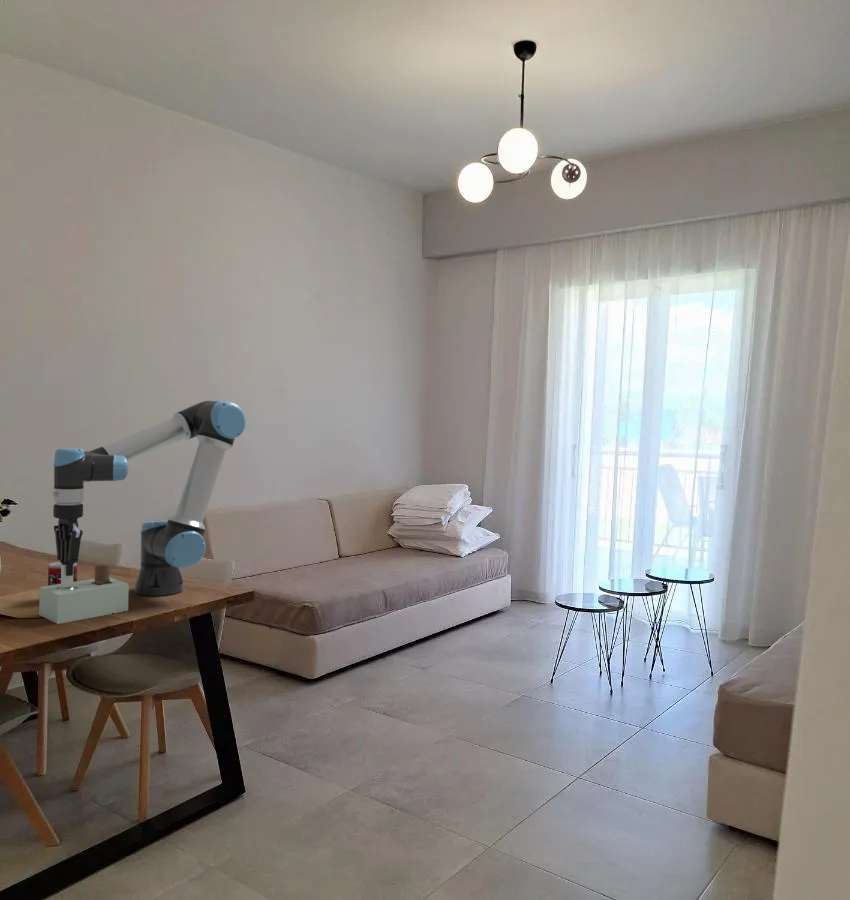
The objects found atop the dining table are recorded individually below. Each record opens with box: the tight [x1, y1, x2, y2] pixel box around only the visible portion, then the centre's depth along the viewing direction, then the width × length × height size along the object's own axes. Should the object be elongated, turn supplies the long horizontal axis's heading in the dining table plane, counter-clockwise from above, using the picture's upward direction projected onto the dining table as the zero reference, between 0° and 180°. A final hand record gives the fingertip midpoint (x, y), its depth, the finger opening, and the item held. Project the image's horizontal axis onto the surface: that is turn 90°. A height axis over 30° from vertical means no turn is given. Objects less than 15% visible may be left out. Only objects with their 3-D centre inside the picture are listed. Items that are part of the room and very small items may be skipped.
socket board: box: [38, 576, 130, 625], centre depth 209 cm, size 20×12×8 cm, turn 140°
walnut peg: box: [94, 563, 111, 585], centre depth 213 cm, size 4×4×8 cm
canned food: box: [47, 561, 78, 586], centre depth 223 cm, size 8×8×11 cm
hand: (67, 586), depth 205 cm, fingers closed
